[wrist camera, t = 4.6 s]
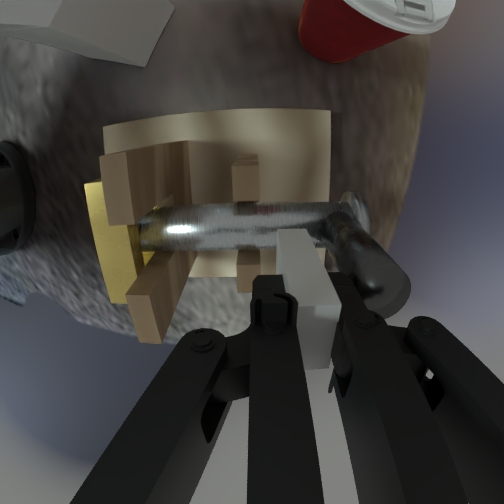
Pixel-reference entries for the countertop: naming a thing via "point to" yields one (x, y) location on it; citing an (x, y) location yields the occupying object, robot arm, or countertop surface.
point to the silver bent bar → (265, 237)
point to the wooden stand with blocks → (209, 188)
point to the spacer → (114, 246)
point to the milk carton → (89, 26)
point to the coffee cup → (365, 24)
